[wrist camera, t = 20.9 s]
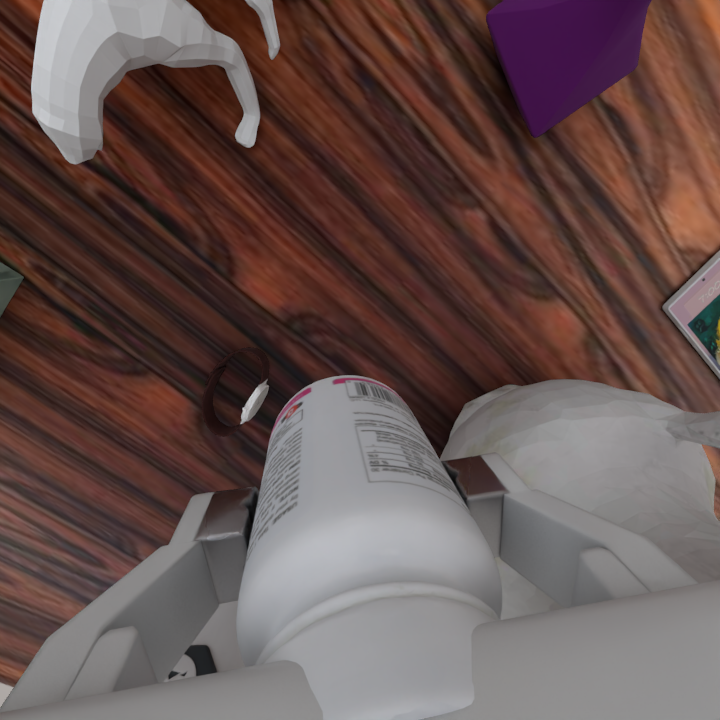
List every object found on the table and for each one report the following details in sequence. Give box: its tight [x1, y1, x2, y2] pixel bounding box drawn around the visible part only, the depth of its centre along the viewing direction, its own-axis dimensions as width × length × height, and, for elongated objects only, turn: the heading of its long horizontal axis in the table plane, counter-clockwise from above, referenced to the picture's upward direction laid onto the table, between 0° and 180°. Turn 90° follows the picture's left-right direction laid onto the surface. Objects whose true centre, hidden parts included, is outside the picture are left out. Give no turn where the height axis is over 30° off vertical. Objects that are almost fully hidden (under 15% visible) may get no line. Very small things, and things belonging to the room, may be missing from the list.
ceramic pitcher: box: [440, 379, 720, 620], centre depth 23 cm, size 22×20×25 cm
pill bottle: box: [236, 375, 502, 720], centre depth 8 cm, size 5×5×8 cm
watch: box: [202, 347, 269, 437], centre depth 28 cm, size 8×5×4 cm, turn 152°
